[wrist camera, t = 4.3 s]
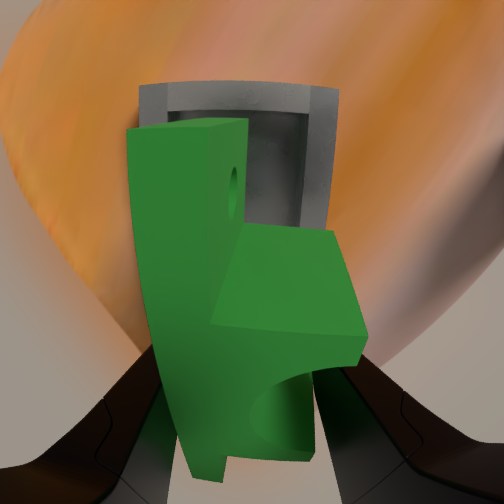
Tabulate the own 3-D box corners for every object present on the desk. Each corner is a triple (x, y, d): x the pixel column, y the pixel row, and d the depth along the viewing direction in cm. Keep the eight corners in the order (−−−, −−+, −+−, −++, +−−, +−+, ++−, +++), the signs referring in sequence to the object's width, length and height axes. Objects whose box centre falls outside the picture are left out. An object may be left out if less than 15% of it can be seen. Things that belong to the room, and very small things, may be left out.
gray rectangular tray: (324, 91, 15) (339, 89, 13) (298, 322, 23) (304, 347, 21) (153, 88, 15) (139, 85, 12) (171, 321, 23) (165, 346, 20)
